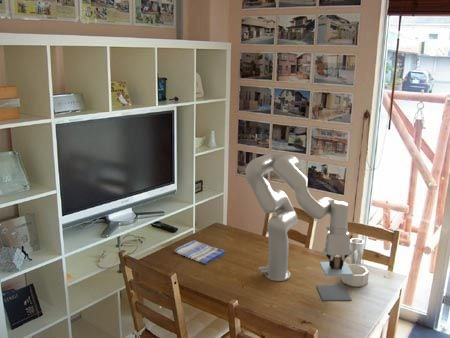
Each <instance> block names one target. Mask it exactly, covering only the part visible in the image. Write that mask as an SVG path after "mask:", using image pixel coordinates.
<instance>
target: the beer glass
mask: <svg viewBox="0 0 450 338" xmlns="http://www.w3.org/2000/svg"><path fill="white" fill-rule="evenodd" d="M364 249H365V242H364V240H363V239H361V238H356V237H355V238H351V239H350V250H351V252H352V254H351V255H349V256H348V257H349V263H348V264H358V265H361V261H362V259H363V258H362V257H363V255H364ZM361 266H362V265H361Z"/></svg>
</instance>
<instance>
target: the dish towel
mask: <svg viewBox="0 0 450 338" xmlns="http://www.w3.org/2000/svg"><path fill="white" fill-rule="evenodd" d="M173 252H176V253H178V254H177V255H179V254H180V255H179V256H181V255H183V256H185V257H184V258H186V257H188V258H187V259H189V258H191V259H190V260H192V259H193V260H192V261H194V260H195V262H197V261H198V262H197V263H199V262H201V263H200V264H202V263H204V264H203V265H208V264H210V263H212V262H214V261H216V260H217V258H218V259H219V258H222V257H223V256H225V255H226V251H225V250H224V249H220V248H217V247H215V246H210V245H208V244H205V243H202V242H199V241H197V240H196V239H195V240H191V241H190V242H187V243H185V244H183V245H181V246H179V247H177V248H175V249H174V251H173ZM176 253H175V254H176ZM183 256H182V257H183ZM215 259H216V260H215ZM213 260H214V261H213ZM211 261H212V262H211ZM209 262H210V263H209ZM207 263H208V264H207Z"/></svg>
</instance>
